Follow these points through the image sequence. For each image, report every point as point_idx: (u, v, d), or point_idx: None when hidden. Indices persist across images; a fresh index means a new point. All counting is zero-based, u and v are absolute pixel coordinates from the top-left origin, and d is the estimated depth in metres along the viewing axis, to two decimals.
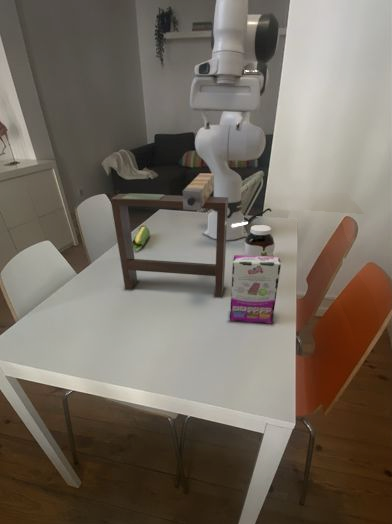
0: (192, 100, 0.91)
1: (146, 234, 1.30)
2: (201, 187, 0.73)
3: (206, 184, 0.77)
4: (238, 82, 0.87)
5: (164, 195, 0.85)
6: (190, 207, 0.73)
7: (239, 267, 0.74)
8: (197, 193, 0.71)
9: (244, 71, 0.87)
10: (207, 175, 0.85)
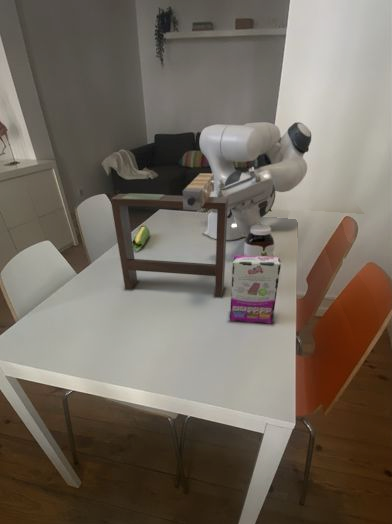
0: (270, 183, 0.96)
1: (146, 234, 1.30)
2: (201, 187, 0.73)
3: (206, 184, 0.77)
4: (232, 206, 1.03)
5: (164, 195, 0.85)
6: (190, 207, 0.73)
7: (239, 267, 0.74)
8: (197, 193, 0.71)
9: None
10: (207, 175, 0.85)
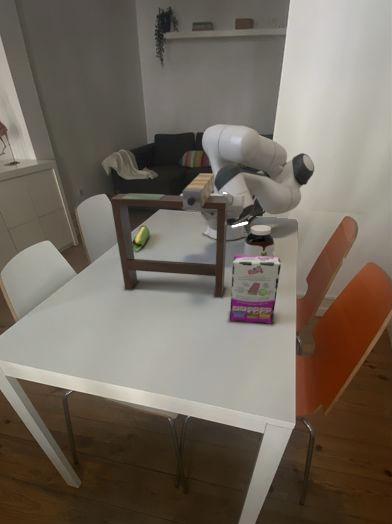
0: (240, 209, 0.98)
1: (146, 234, 1.30)
2: (201, 187, 0.73)
3: (206, 184, 0.77)
4: (201, 211, 1.04)
5: (164, 195, 0.85)
6: (190, 207, 0.73)
7: (239, 267, 0.74)
8: (197, 193, 0.71)
9: None
10: (207, 175, 0.85)
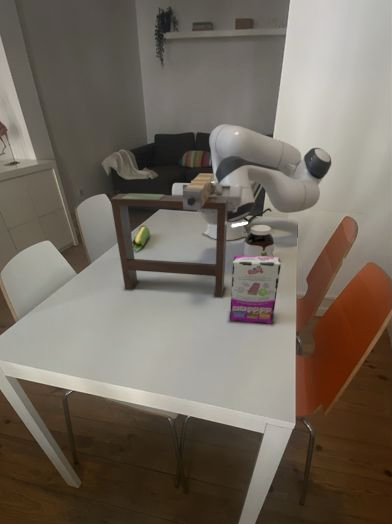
0: (238, 200, 0.90)
1: (146, 234, 1.30)
2: (201, 187, 0.73)
3: (206, 184, 0.77)
4: None
5: (164, 195, 0.85)
6: (190, 207, 0.73)
7: (239, 267, 0.74)
8: (197, 193, 0.71)
9: None
10: (207, 175, 0.85)
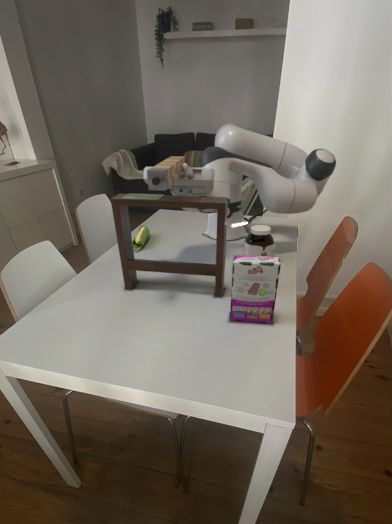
0: (210, 184, 0.89)
1: (146, 234, 1.30)
2: (167, 167, 0.72)
3: (173, 165, 0.76)
4: (169, 188, 0.94)
5: (164, 195, 0.85)
6: (155, 187, 0.71)
7: (239, 267, 0.74)
8: (161, 172, 0.69)
9: None
10: (177, 158, 0.84)
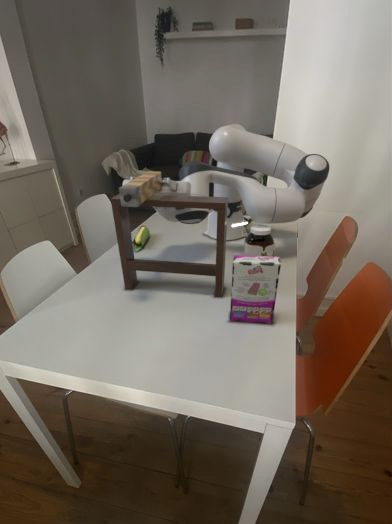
0: None
1: (146, 234, 1.30)
2: (139, 184, 0.75)
3: (147, 181, 0.79)
4: None
5: (164, 195, 0.85)
6: (127, 204, 0.75)
7: (239, 267, 0.74)
8: (132, 190, 0.73)
9: None
10: (153, 173, 0.87)
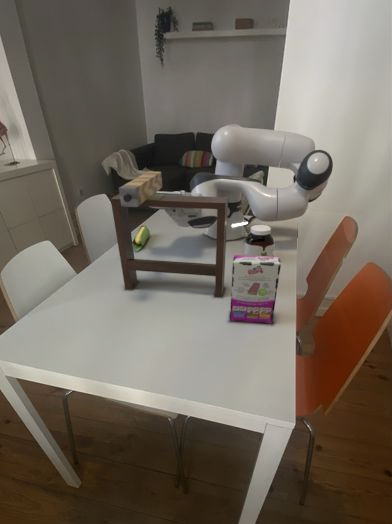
0: None
1: (146, 234, 1.30)
2: (139, 184, 0.75)
3: (147, 181, 0.79)
4: (164, 208, 1.10)
5: (164, 195, 0.85)
6: (127, 204, 0.75)
7: (239, 267, 0.74)
8: (132, 190, 0.73)
9: None
10: (153, 173, 0.87)
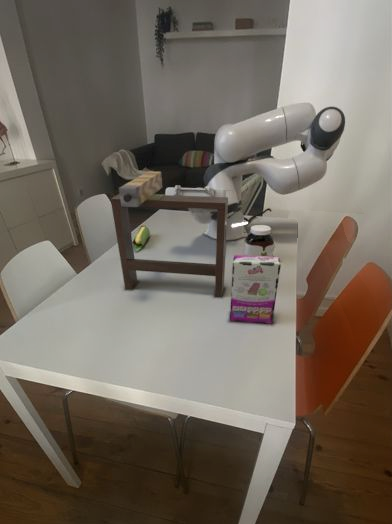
0: None
1: (146, 234, 1.30)
2: (139, 184, 0.75)
3: (147, 181, 0.79)
4: None
5: (164, 195, 0.85)
6: (127, 204, 0.75)
7: (239, 267, 0.74)
8: (132, 190, 0.73)
9: None
10: (153, 173, 0.87)
